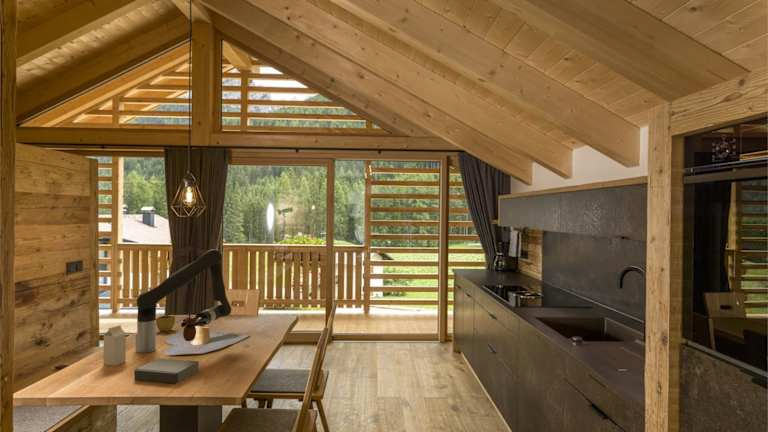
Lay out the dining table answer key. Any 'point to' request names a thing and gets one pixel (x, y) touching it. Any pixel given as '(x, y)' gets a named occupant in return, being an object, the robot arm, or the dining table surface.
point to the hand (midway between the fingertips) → (186, 325)
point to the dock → (166, 370)
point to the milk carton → (115, 346)
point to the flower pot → (165, 323)
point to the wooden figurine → (189, 330)
